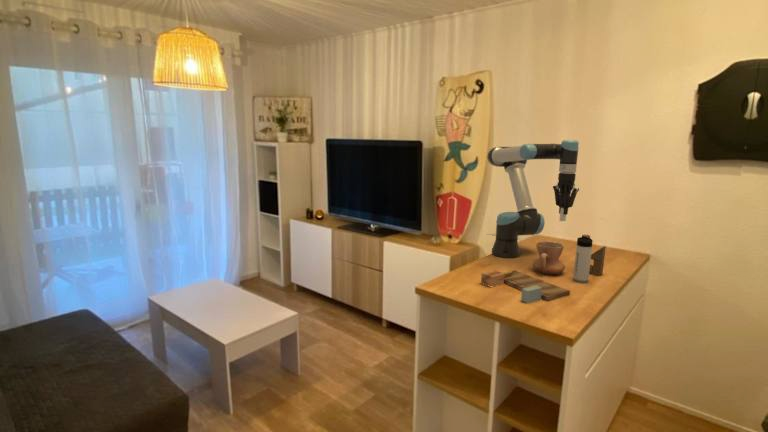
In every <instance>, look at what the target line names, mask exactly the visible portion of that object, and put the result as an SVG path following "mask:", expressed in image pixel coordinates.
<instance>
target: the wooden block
mask: <svg viewBox="0 0 768 432" xmlns="http://www.w3.org/2000/svg"><path fill="white" fill-rule="evenodd" d="M582 236H583V237H586V238H590V239H591V235H589V234H582V235H581V237H582ZM606 247H607V246H606V245H604V246H603V247H601V248H599V249H598V250H596V251H595V252H593V253H591V260H592V261H593V262H592V263H593V264H590V270H589V275H594V276H599V277H601V276H602V275H603V274H604V273H603V272H604V265H605V264H604V263H605V256H606Z"/></svg>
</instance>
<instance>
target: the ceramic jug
mask: <svg viewBox="0 0 768 432" xmlns="http://www.w3.org/2000/svg"><path fill="white" fill-rule="evenodd" d="M535 246H536V251H537V253H538V256H539V257H538V258H537V259H535V260H534V261H533V262H532V268H533V269H534V270H535V271H536V272H537V273H541V274H544V275H550V276H551V275H552V276H553V275H554V276H555V275H559V274H562V273H563V272H564V271H565V270H566V269H565V266H566V265H565V264H564V263H563V262H562V261H561V260H559V258H560V257H561V255H562V253H563V251H564V247H565V245H564V244H563V243H561V242H558V241H557V242H555V241H553V240H542V241H538V242H536V245H535Z"/></svg>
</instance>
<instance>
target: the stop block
mask: <svg viewBox="0 0 768 432" xmlns="http://www.w3.org/2000/svg"><path fill="white" fill-rule="evenodd" d="M541 294H542V288H541V287H539V286H536V285H535V286H531V287H527V288H523V289H522V291H521V299H520V301H521V302H523V301H524V303H526V304H530V303H533V302H537V301H540V300H542V299H541Z"/></svg>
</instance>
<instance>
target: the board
mask: <svg viewBox="0 0 768 432" xmlns="http://www.w3.org/2000/svg"><path fill="white" fill-rule="evenodd" d="M511 271H512V272H513V275H509V276H505V277H504V283H505V284H504V285H507V284H508V286H509V285H510V287H512V288H515V289H516V290H519V291H521V292H522V289H523V288H527V287H531V286H535V285H536V286H539V287H541V288H542V294H541V300H542V301H545V302H550V301H553V300H557V299H560V298H564V297H567V296H570V294H571V290H568V289H566V288H563V287H560V286H558V285H556V284H553V283H550V282H547V281H544V280H543V279H539V278H536V277H534V276H531V275H528V274H525V273H523V272H520V271H517V270H511ZM505 272H506V271H505ZM505 272H503V273H505Z"/></svg>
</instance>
